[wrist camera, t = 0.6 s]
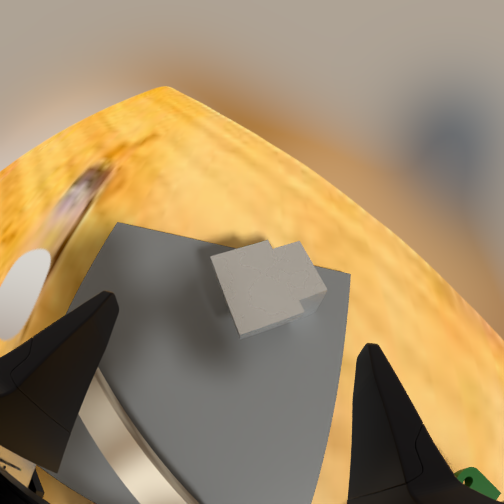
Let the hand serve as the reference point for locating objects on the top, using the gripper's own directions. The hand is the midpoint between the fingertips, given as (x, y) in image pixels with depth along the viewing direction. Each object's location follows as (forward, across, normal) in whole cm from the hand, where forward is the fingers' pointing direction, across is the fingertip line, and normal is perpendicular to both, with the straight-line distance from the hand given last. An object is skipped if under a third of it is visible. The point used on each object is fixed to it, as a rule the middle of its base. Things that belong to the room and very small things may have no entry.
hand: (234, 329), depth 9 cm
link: (-2, +8, +15) cm, 18 cm away
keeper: (+12, -1, +12) cm, 17 cm away
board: (+4, +5, +15) cm, 16 cm away
